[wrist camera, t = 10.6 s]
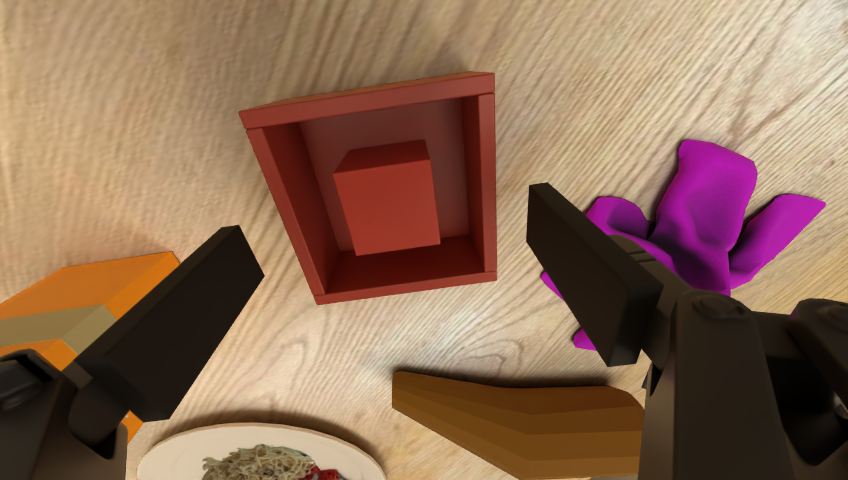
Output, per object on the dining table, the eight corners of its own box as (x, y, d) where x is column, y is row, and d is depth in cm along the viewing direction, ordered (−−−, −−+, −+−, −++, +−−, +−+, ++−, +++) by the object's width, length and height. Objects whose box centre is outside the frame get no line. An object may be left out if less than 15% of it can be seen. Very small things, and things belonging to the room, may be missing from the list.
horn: (394, 357, 34) (607, 353, 35) (393, 446, 34) (605, 438, 36) (390, 395, 26) (665, 387, 28) (390, 510, 26) (662, 496, 28)
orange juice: (60, 266, 23) (-969, 856, 6) (171, 249, 23) (-554, 811, 6) (124, 337, 27) (-378, 817, 10) (220, 323, 27) (-120, 790, 10)
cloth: (591, 366, 33) (628, 424, 27) (502, 256, 25) (528, 308, 20) (828, 251, 26) (935, 297, 21) (806, 58, 19) (966, 54, 13)
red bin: (281, 99, 18) (237, 111, 13) (471, 71, 18) (495, 72, 13) (334, 257, 24) (316, 305, 19) (478, 237, 24) (497, 281, 19)
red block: (348, 149, 19) (331, 173, 15) (425, 138, 19) (430, 159, 15) (365, 219, 22) (356, 256, 18) (433, 209, 22) (441, 244, 17)
